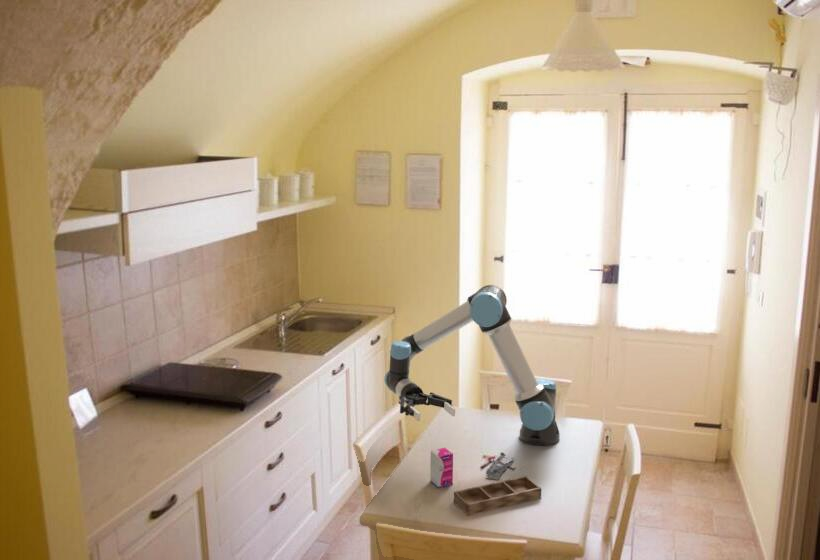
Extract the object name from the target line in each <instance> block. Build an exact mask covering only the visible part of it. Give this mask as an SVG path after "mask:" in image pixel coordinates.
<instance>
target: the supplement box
mask: <svg viewBox="0 0 820 560" xmlns="http://www.w3.org/2000/svg"><path fill="white" fill-rule="evenodd" d="M429 467H430V469H429V470H430V473H429V474H430V475H429V476H430V481H429V482H430V483H432V485H434V486H435V487H436V488H437V489H441V488H443V487H448V486H452V485H454V474H453V473H454V471H453V470H454V453H452V452H451V450H449V449H447V448H446V447H442V448H437V449H432V450H430V466H429Z"/></svg>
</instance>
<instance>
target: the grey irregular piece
mask: <svg viewBox="0 0 820 560" xmlns="http://www.w3.org/2000/svg"><path fill="white" fill-rule="evenodd" d="M506 457H507V455H506V454H505V453H504V452H500V456H498V457H497V459H496V460H495V461H493V462H492V463H491V465H490V466H489V467H488V468H487V469H486V471H485V475H486V477H487V478H485V479H493V480H496V481H499V480H500V477H501V475H502V474H503V472H506V469H507V467H509V466H511V465H512V464H513V460H514V458H513V457H511V458H510V459H511V460H510V461H509V462H506V463H505V464H503V465H501V464H500V465H499V462H502V461H504V459H506Z"/></svg>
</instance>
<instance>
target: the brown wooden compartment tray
mask: <svg viewBox="0 0 820 560" xmlns="http://www.w3.org/2000/svg"><path fill="white" fill-rule="evenodd" d="M538 499H539V500H540V499H542V487H541V486H539V485H538V484H537V483H536V482H535V481H533V480H532V479H531V478H529V477H528V476H527V475H524V476H519V477H514V478H509V479H505V480H500V481H496V482H492V483H486V484H483V485H482V484H481V485H479V486H474V487H469V488H465V489H461V490H456V491H453V502H454V504H455V505H456V506H457V507H458V508H459V509H460V510H461V511H462V512H464V514H465V515H466V516H472V515H475V514H480V513H484V512H489V511H492V510H496V509H501V508H505V507H510V506H513V505H514V506H515V505H519V504H521V503H526V502H530V501H535V500H538Z"/></svg>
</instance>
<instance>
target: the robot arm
mask: <svg viewBox="0 0 820 560" xmlns="http://www.w3.org/2000/svg"><path fill="white" fill-rule="evenodd" d="M507 299H508V298H507V295H506V292H505V291H504V290H503V289H502V288H501V287H499V286H498V285H493V284H487V285H484V286H482V287H481V288H479V289H478V290H477V291H476V292H475V293H473V294H472V295H469V296H468V297H467V300H466V301H465V302H464V303H462V304H460V305H458V306H457V307H455V308H453V309H452V310H450V311H449V312H446V313H445V314H444V315H442V316H440V317H438V318H437V319H436V320H434V321H432V322H430V323H429V324H427V325H426V326H424V327H422V328H420V329H419V330H417V331H415V332H414V333H412V334H411V335H407V336H405V337H404V338H402V339H401V340H400V341H399V340H398V341H394V342H392V344H391V346H390V350H389V356H390V358H389V368H388V369H389V370H388V371H387V372H386V373H385V376H384V379H383V380H384V381H383V382H384V384H385V385H386V387H387V388H388V389H389V390H390V391H392V392H393V393H394V394H395V395H396V396H398V405H400V406H399V413H400V414H404V413H405V416H411V417H413V419H415V420H416V421H417V422H421V413H420V412H419V410H417V409H416V408H415V406H420V405H421V406H423V405H424V406H432V407H433V406H434V407H438V408H443V409H444V411H445V412H447V413H448V414H449V415H450V416H451V417H455V415H456V408H455V407H453V400H452V399H450V398H448V397H444V396H441V395H439V394H436V393H434V392H429V394H426V393H424V391H423V389H422V388H421V387H420V386H419V385H417V384H416V383H415V382H414V381H413V380H411V379H410V378H409V377H410V364H411V362H412V360H413V358H414V357H415V356H417V355H418V354H420V353H421V352H423V351H424V350H427V348H430V347H431V346H433V345H434V344H436V343H438V342H440V341H441V340H443V339H445V338H446V337H448V336H450V335H452V334H453V333H455V332H457V331H458V330H460V329H462V328H463V327H465V326H467V325H468V324H470V323H472V322H474V323H475V324H476V325H478V327H479V329H480V331H481V333H482V334H485V335H488V336H487V337H488V338H489V340H490V342H491V345H492V346H493V348H494V350H495V352H496V354H497V357H498V359H499V361H500V363H501V365H502V366H503V369H504V371H505V373H506V375H507V378H508V380H509V382H510V383H511V386H512V387H513V390H514V391H515V394H514V398H513V399H514V401H515V404H516V406H517V408H518V410H519V418H520V421H521V423H522V424H521V427H520V430H519V439H520V440H521V441H523V442H524V443H526V444H529V445H531V446H541V447H542V446H550V445H555V444H557V443H558V442H559V441H560V435H561V434H560V430H559V427H558V424H557V420H556V410H557V409H556V408H557V406H556V403H557V384H556V382H555V381H553V380H550V379H547V378H536V377H535V375H534V373H533V371H532V368H531V367H530V365H529V362H528V360H527V358H526V355H524V352H523V349H522V348H521V345H520V344H519V343H520V342H518V340H517V337H516V335H515V333H514V331H513V329H512V327H511V321H512V317H511V315H510V313H509V310H508V308H507V307H506V306H507V303H508V302H507ZM405 403H406V406H405Z"/></svg>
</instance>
